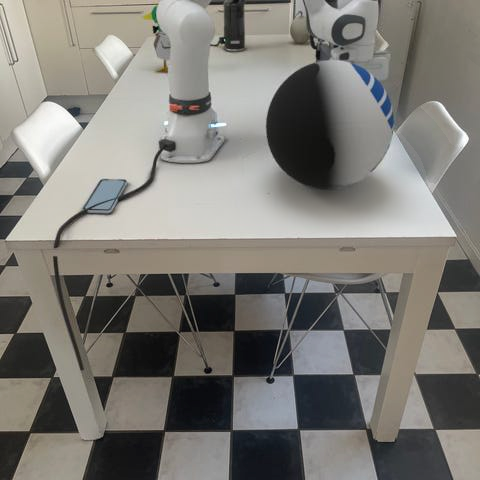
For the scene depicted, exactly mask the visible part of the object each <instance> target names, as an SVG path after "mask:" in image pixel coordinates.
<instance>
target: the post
mask: <svg viewBox="0 0 480 480" xmlns="http://www.w3.org/2000/svg"><path fill="white" fill-rule="evenodd" d="M331 50H332V48H331V47H330V46H329V43H328V42H325V43H324V42H323V43H322V45H321V48H320V60H317V59H316V58H315V62H319V61H327V60H329V59H330V58H331V57H332V56H331Z"/></svg>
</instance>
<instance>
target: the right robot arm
mask: <svg viewBox="0 0 480 480" xmlns="http://www.w3.org/2000/svg"><path fill="white" fill-rule="evenodd" d="M325 1H326V3H327V4H328V5H330V6H331V7H333V8H336V9H339V0H325ZM246 2H247V0H224V2H223V6H222V7H223V8H222V9H223V36H218V41H217V43H216V44H212V43H211V45H210V47H218V46H220V45H223V46H224V47H223V48H224V50H225V51H226V52H230V53H231V52H232V53H235V52H237V53H238V52H243V51H245V50H246V25H245V24H246V23H245V16H246V15H245V5H246ZM157 34H158V32H156V34H154V35H155V37H156V36H157ZM308 36H309V40H308V41H309V43H310V47H311V48H312V50H315V56H314V57H315V60H316V59H317V60H320V48H321V45H322V44H323V43H324V42H325V43H326V41H324V40H321V39H317V41H316V42H315V38H314V37H312V36H311V35H310V34H308ZM315 43H316V44H315ZM327 44H328V45H329V46H330V47H331V48H332V49H334V48H337V47H339V46H338V45H335V44H332V43H329V42H327Z"/></svg>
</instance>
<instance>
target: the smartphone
mask: <svg viewBox="0 0 480 480" xmlns="http://www.w3.org/2000/svg"><path fill="white" fill-rule="evenodd" d="M127 185H128V180H127V179H126V178H101V179H100V180H98V182H97V183H96V185H95V186H94V188H93V190H92V192H91V193H90V195H89V197H88V198H87V200H86V201H85V203H84V204H83V206H82V207H81V211H83V210H85V209H87V208H89V207H91V206H93V205H95V204H98V203H101V202H104V201H107V200H110V199H113V198H116V197H119V196H122V195H123V192H124V190H125V189H126V187H127ZM118 202H119V201H118V198H117V199H114V200H111V201H108V202H105V203H103V204H100V205H98V206H96V207H94V208H92V209H90V210H88V212H87V213H86V214H111V213H112V212H113V211H114V209H115V207H116V205H117V203H118Z"/></svg>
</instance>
